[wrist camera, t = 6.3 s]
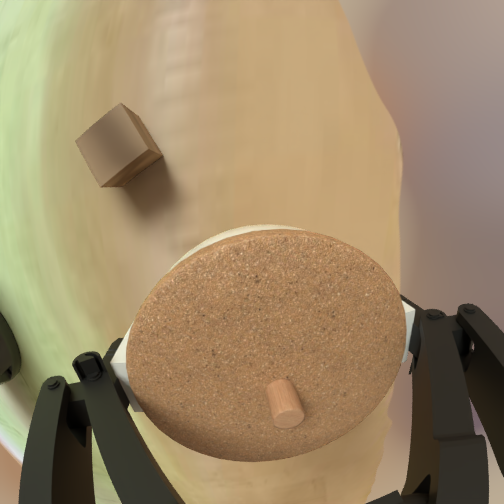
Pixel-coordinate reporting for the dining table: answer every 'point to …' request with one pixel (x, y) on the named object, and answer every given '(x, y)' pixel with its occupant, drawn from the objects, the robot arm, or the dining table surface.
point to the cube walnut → (118, 147)
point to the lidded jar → (266, 343)
